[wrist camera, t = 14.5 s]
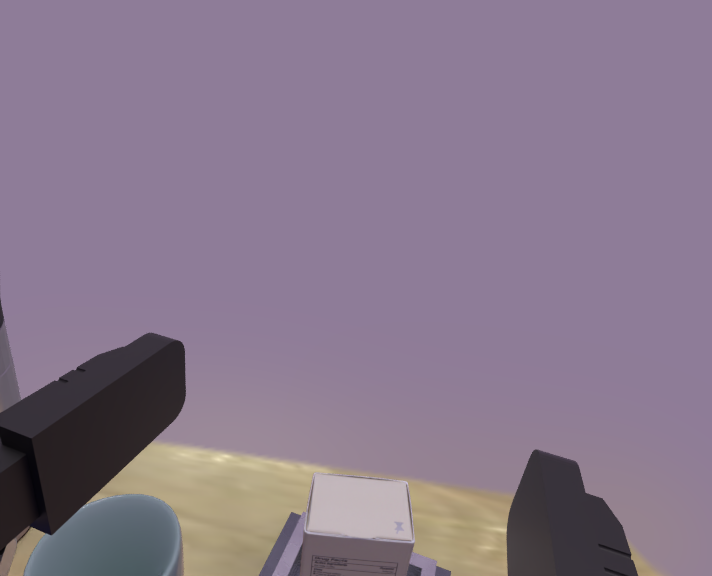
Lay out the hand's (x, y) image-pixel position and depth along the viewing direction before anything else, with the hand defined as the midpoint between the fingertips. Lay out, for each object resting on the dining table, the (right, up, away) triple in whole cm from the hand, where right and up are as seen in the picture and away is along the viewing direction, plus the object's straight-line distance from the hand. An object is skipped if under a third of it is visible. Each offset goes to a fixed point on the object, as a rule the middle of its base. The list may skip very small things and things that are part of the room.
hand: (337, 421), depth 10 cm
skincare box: (-1, -21, +21) cm, 29 cm away
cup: (-15, -21, +18) cm, 31 cm away
